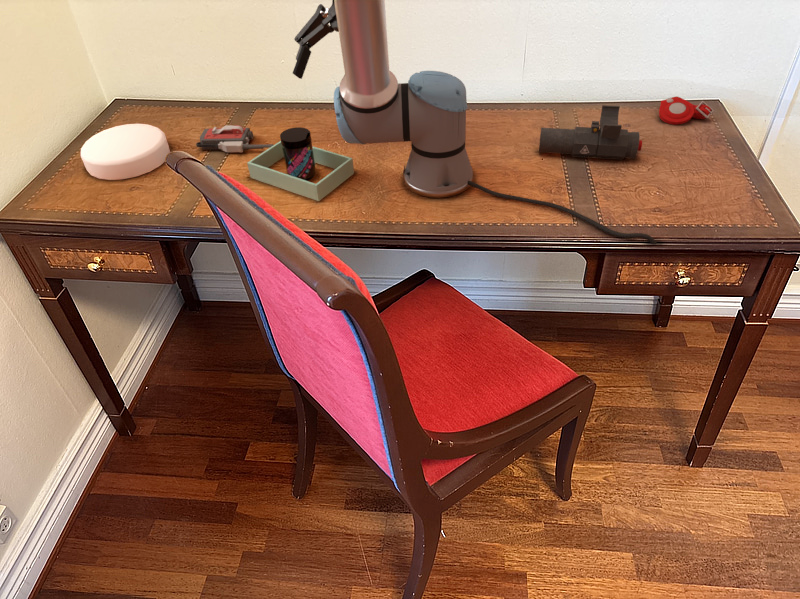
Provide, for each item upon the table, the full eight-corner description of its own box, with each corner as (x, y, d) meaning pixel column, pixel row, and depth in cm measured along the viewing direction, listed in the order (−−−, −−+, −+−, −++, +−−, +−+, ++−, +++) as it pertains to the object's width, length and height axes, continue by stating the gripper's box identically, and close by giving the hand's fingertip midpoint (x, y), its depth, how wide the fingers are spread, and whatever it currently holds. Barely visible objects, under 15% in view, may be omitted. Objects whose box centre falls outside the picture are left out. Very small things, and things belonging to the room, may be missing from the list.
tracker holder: (668, 124, 152) (651, 97, 158) (666, 137, 156) (649, 111, 161) (718, 108, 151) (699, 82, 157) (714, 122, 155) (696, 96, 160)
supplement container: (282, 180, 143) (274, 139, 136) (296, 166, 148) (289, 125, 141) (307, 185, 141) (301, 144, 134) (322, 170, 146) (316, 129, 139)
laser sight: (539, 141, 151) (543, 102, 144) (636, 147, 147) (646, 107, 140) (537, 162, 144) (542, 122, 137) (639, 168, 140) (649, 127, 133)
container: (167, 173, 148) (161, 155, 145) (79, 185, 146) (71, 167, 143) (172, 134, 163) (167, 117, 160) (92, 144, 160) (85, 128, 157)
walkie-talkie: (194, 154, 154) (274, 153, 153) (189, 138, 151) (271, 137, 150) (204, 137, 161) (281, 136, 159) (200, 121, 158) (278, 120, 156)
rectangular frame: (354, 173, 144) (352, 158, 142) (318, 201, 136) (316, 185, 134) (287, 152, 153) (284, 137, 150) (250, 177, 145) (246, 162, 142)
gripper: (408, 6, 136) (374, 100, 137) (318, -9, 146) (287, 78, 148) (393, -13, 129) (358, 85, 130) (300, -27, 140) (268, 64, 141)
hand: (320, 82), depth 139 cm, fingers open, 13 cm apart
